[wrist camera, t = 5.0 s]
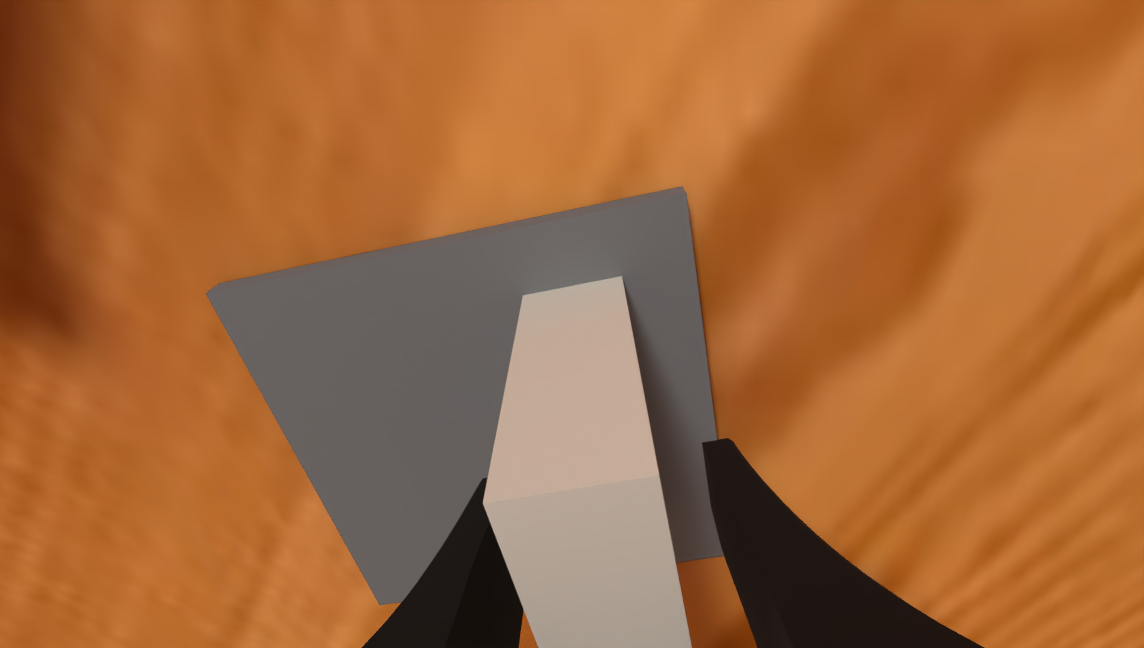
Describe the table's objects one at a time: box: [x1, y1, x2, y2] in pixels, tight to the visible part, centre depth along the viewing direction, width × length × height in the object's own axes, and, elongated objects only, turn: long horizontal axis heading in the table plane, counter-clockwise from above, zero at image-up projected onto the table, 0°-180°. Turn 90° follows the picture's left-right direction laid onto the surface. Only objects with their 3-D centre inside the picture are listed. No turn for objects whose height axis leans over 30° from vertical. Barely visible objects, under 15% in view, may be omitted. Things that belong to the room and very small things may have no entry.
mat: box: [206, 187, 724, 605], centre depth 17 cm, size 12×12×1 cm
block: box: [483, 276, 692, 648], centre depth 13 cm, size 2×8×7 cm, turn 12°
